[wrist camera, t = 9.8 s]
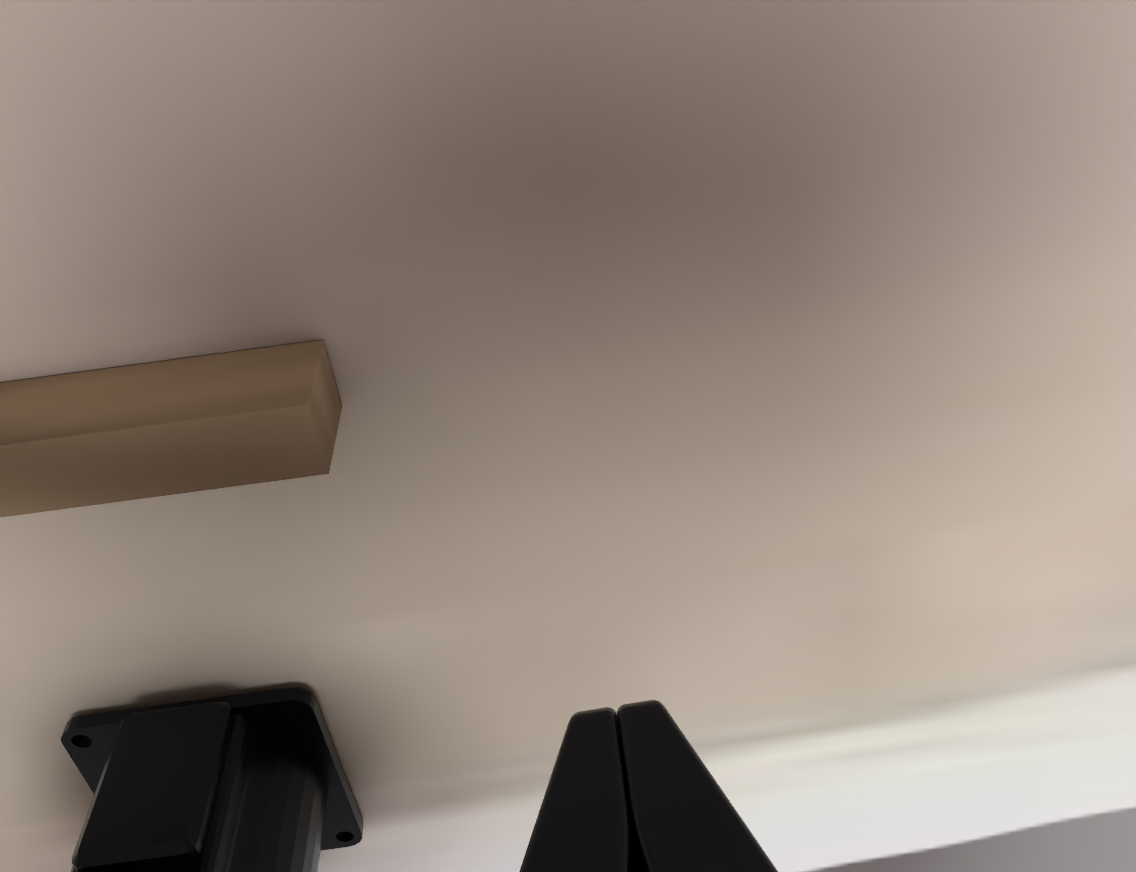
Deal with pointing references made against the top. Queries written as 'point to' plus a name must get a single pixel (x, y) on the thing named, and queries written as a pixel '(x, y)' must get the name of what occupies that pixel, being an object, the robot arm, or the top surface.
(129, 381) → the bay
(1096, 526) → the top surface
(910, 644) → the top surface
